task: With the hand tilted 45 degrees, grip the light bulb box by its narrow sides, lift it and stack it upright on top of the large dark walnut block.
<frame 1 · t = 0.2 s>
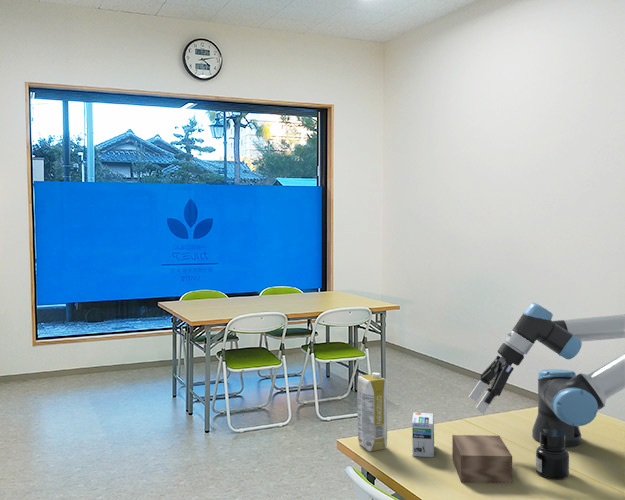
hand: (475, 405, 192), 15 cm above the table, tool tilted 35°, fingers open, 13 cm apart
walnut block: (480, 471, 180), on the table
light bulb box: (423, 451, 196), on the table
juice carton: (372, 447, 200), on the table
ink bottle: (552, 474, 178), on the table
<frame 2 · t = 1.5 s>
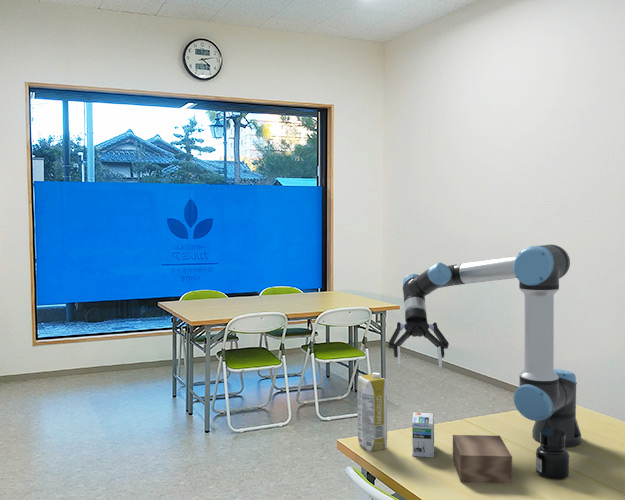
hand: (420, 365, 205), 25 cm above the table, tool tilted 45°, fingers open, 13 cm apart
nothing on the table moved.
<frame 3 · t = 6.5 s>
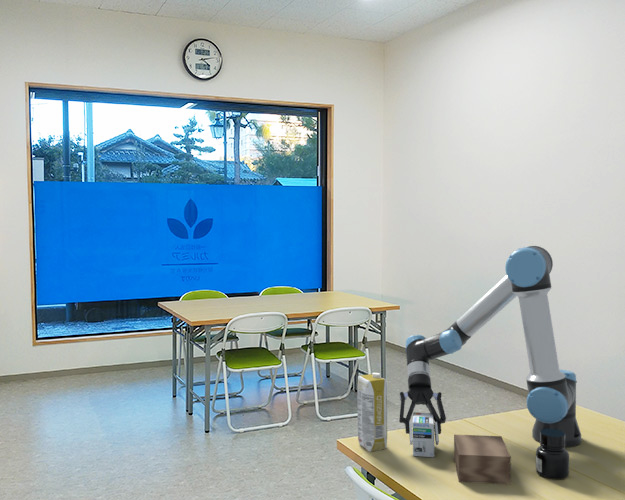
hand: (424, 442, 192), 4 cm above the table, tool tilted 45°, fingers closed on light bulb box, 7 cm apart
light bulb box: (423, 451, 196), on the table, touching gripper
everything else where it was.
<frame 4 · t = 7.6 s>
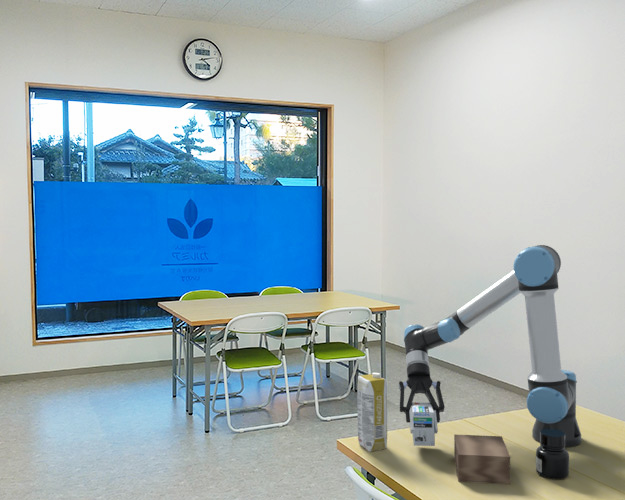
hand: (424, 431, 192), 7 cm above the table, tool tilted 45°, fingers closed on light bulb box, 7 cm apart
light bulb box: (423, 440, 196), point 3 cm above the table, touching gripper
everything else where it was.
when the fingers open (13 cm above the table, at t = 12.2 s): light bulb box drops 2 cm, resting on walnut block.
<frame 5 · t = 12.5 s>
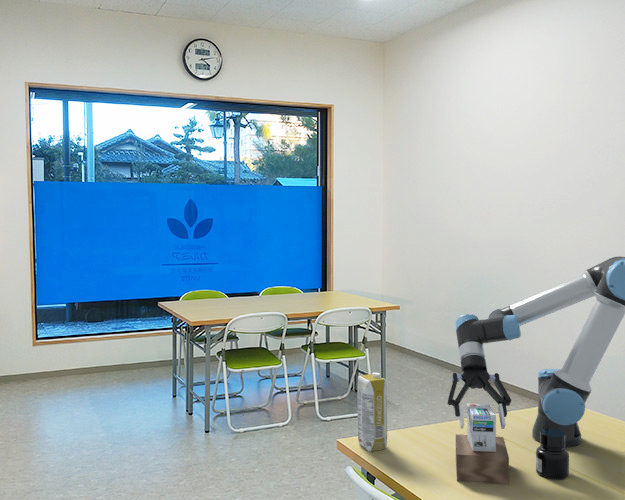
hand: (482, 426, 176), 14 cm above the table, tool tilted 45°, fingers open, 11 cm apart
walnut block: (480, 472, 180), on the table, touching light bulb box
light bulb box: (480, 445, 180), point 7 cm above the table, touching walnut block
everything else where it was.
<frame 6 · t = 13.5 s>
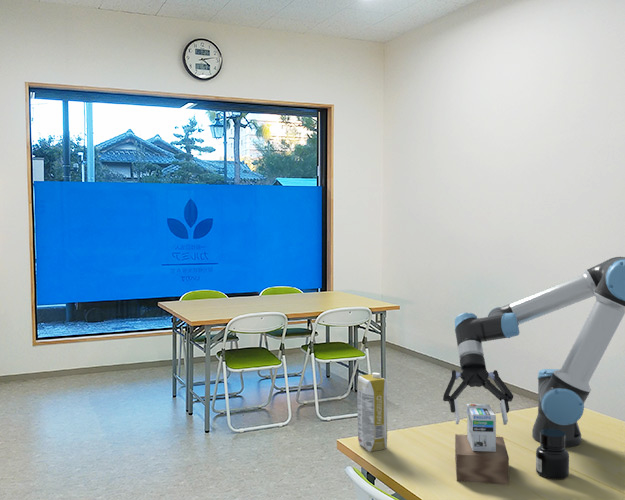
hand: (481, 422, 177), 15 cm above the table, tool tilted 45°, fingers open, 13 cm apart
walnut block: (480, 472, 180), on the table
light bulb box: (480, 445, 180), point 7 cm above the table
everything else where it was.
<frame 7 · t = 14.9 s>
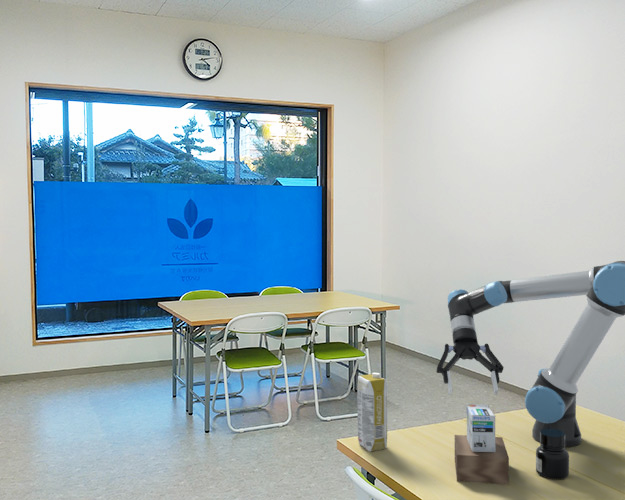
hand: (473, 392, 186), 21 cm above the table, tool tilted 45°, fingers open, 13 cm apart
walnut block: (480, 472, 180), on the table, touching light bulb box
light bulb box: (480, 446, 180), point 7 cm above the table, touching walnut block
everything else where it was.
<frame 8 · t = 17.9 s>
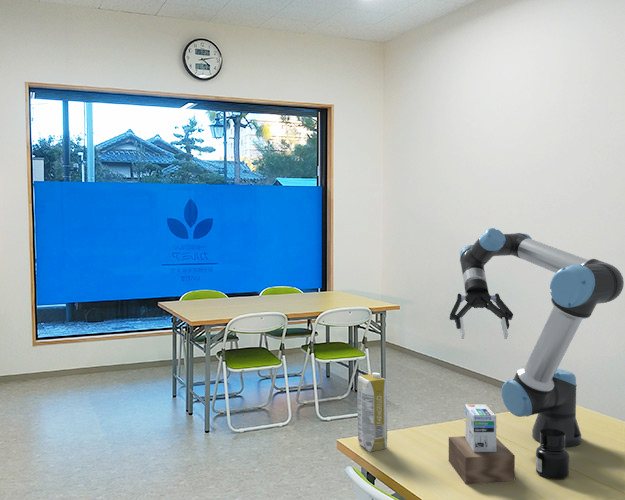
hand: (484, 336, 197), 36 cm above the table, tool tilted 45°, fingers open, 13 cm apart
at the end: light bulb box inside the target area on the walnut block (0.0 cm from its centre), point 7.8 cm above the walnut block's base; light bulb box tilted 0°; the gripper is holding nothing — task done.
